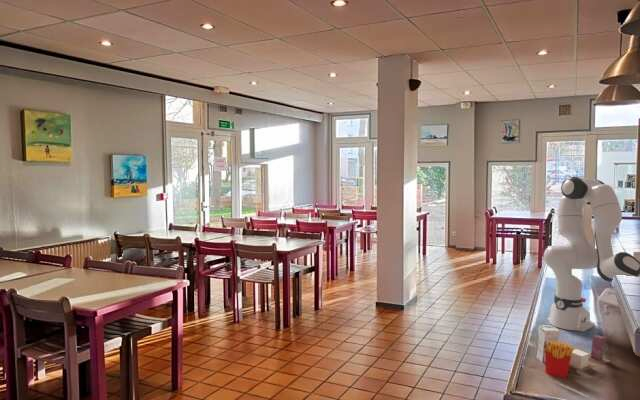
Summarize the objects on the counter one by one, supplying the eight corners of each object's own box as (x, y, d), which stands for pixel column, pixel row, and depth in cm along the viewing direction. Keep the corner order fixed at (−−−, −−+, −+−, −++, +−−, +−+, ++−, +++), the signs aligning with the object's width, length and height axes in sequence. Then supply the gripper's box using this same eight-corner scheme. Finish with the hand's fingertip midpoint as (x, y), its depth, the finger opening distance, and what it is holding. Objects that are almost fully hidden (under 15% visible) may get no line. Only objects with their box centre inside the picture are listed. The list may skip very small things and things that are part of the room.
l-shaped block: (590, 355, 208) (593, 332, 207) (610, 363, 201) (613, 339, 200) (555, 367, 196) (558, 342, 194) (575, 375, 189) (578, 350, 188)
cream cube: (575, 361, 200) (576, 349, 199) (587, 366, 195) (589, 353, 195) (568, 363, 197) (569, 351, 196) (580, 368, 193) (581, 356, 192)
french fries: (542, 376, 188) (545, 342, 187) (544, 371, 192) (547, 338, 190) (569, 382, 183) (573, 348, 182) (571, 378, 187) (574, 344, 186)
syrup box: (549, 359, 203) (552, 324, 202) (556, 366, 197) (559, 330, 196) (535, 359, 203) (538, 324, 201) (542, 365, 197) (545, 329, 196)
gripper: (604, 281, 219) (589, 306, 215) (655, 294, 202) (640, 321, 198) (609, 290, 222) (594, 315, 218) (660, 303, 205) (645, 330, 201)
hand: (617, 318), depth 208 cm, fingers open, 8 cm apart
